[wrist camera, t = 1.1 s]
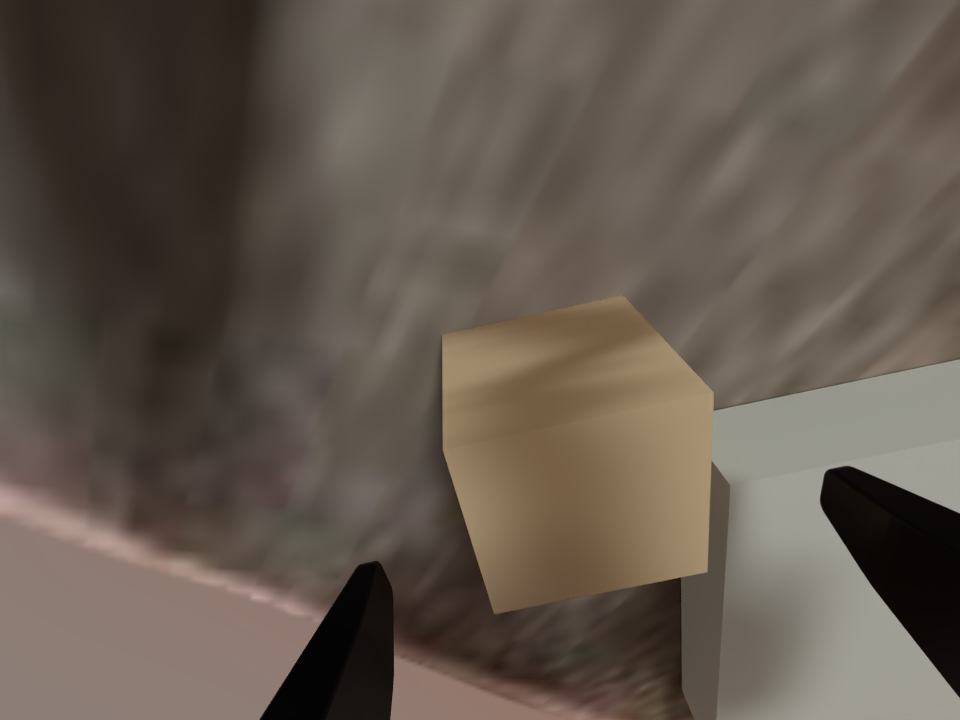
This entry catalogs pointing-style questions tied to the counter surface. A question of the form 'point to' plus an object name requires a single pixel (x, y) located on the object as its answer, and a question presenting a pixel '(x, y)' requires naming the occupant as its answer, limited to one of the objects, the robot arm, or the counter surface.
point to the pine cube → (577, 453)
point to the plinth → (814, 556)
